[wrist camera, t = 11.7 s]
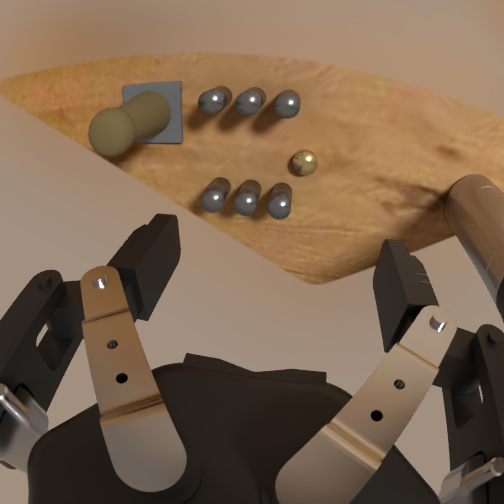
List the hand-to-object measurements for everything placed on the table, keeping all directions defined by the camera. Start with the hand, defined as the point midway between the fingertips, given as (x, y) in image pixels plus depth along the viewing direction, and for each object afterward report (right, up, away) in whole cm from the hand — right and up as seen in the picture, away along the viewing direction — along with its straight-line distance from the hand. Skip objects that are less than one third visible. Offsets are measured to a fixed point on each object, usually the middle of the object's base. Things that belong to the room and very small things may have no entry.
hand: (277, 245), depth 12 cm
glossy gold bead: (+6, +11, +26) cm, 29 cm away
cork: (-14, +17, +25) cm, 33 cm away
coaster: (-14, +18, +25) cm, 33 cm away
